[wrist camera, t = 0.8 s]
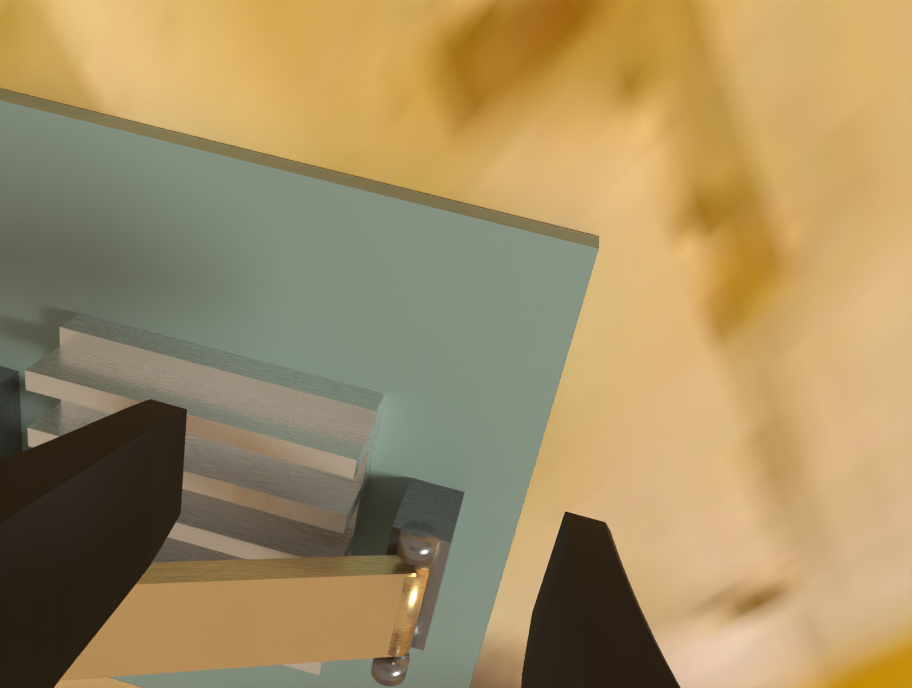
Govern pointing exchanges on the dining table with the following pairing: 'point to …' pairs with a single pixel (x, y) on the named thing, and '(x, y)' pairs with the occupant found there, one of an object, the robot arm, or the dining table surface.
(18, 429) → the heat sink
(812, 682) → the dining table surface
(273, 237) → the base board
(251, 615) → the strap
